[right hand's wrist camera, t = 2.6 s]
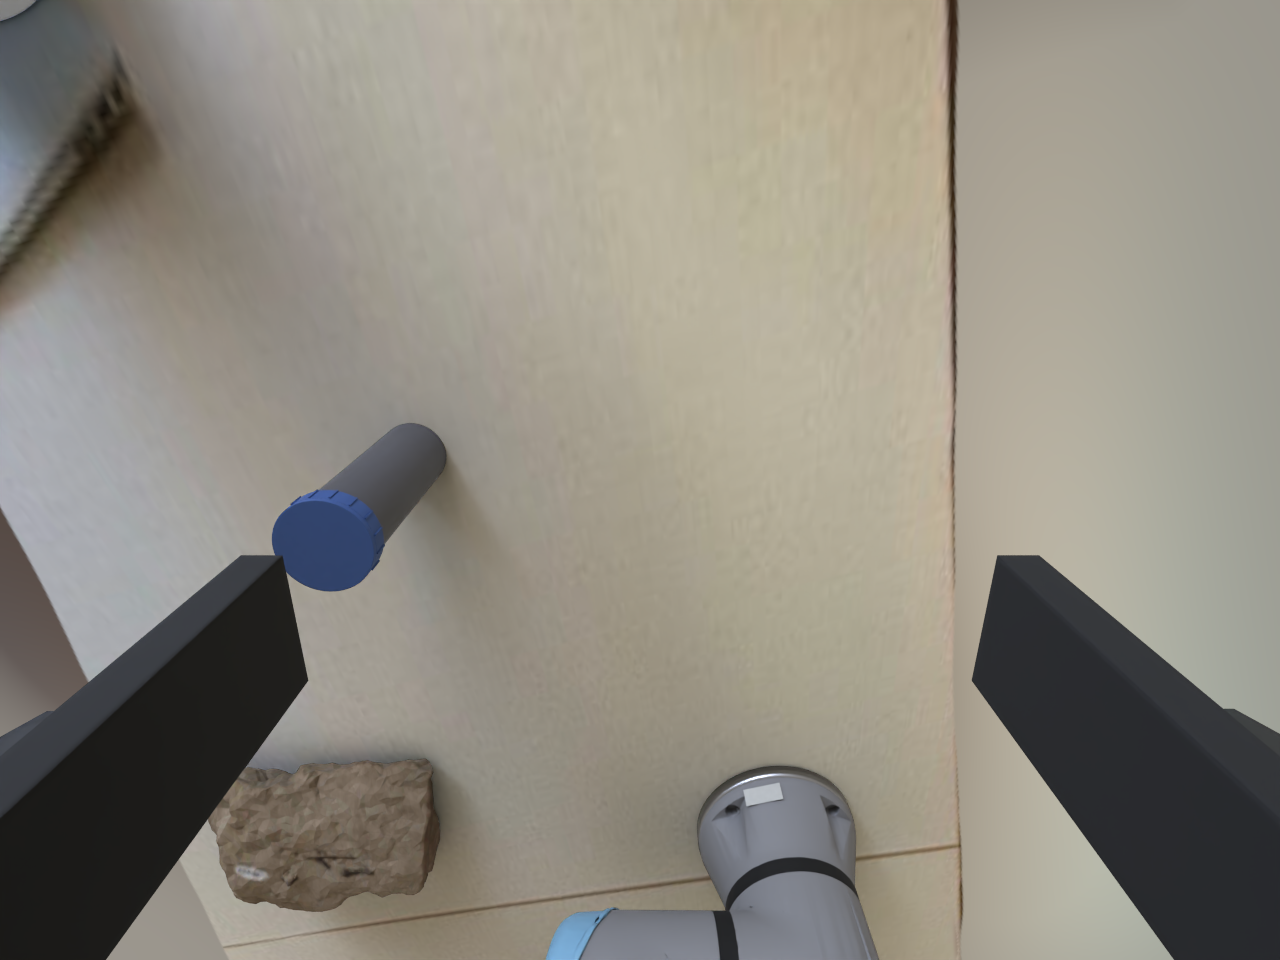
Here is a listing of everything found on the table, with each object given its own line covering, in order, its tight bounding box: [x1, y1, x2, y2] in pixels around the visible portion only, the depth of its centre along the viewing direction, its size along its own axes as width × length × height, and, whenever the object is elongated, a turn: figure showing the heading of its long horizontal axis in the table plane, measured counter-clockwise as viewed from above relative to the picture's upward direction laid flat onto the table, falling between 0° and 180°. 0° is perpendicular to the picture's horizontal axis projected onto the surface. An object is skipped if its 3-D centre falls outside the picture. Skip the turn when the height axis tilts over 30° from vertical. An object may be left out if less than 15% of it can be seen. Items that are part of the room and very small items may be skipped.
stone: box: [208, 759, 440, 912], centre depth 65 cm, size 21×15×6 cm
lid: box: [272, 490, 385, 591], centre depth 40 cm, size 6×6×2 cm
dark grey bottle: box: [319, 423, 446, 544], centre depth 47 cm, size 5×5×16 cm
